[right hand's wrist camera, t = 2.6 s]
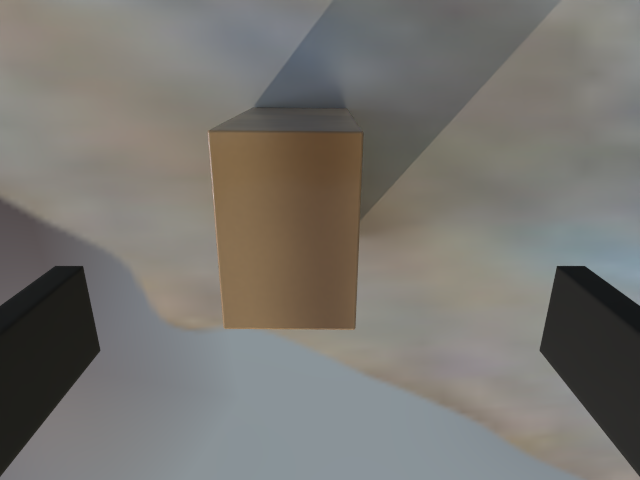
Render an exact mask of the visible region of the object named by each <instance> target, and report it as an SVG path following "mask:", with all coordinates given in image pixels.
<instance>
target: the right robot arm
mask: <svg viewBox="0 0 640 480" xmlns="http://www.w3.org/2000/svg"><path fill="white" fill-rule="evenodd" d="M99 352H100V346H99V342H98V337H97V332H96V327H95V322H94V317H93V312H92V308H91V303H90V298H89V293H88V288H87V283H86V279H85V274H84V269H83V266H55V267H53V268H52V269H51V270H49V271H48V272H47V273H45V274H44V275H42V276H41V277H40V278H38V279H37V280H35V281H34V282H33V283H31V284H30V285H29V286H27V287H26V288H24V289H23V290H22V291H20V292H19V293H17V294H16V295H15V296H13V297H12V298H11V299H9V300H8V301H6V302H5V303H4V304H2V305H1V306H0V476H1V475H2V474H3V472H4V471H5V470H6V469H7V467H8V466H9V465H10V464H11V462H12V461H13V460H14V459H15V457H16V456H17V455H18V454H19V452H20V451H21V450H22V449H23V447H24V446H25V445H26V444H27V442H28V441H29V440H30V438H31V437H32V436H33V435H34V433H35V432H36V431H37V430H38V428H39V427H40V426H41V425H42V423H43V422H44V421H45V420H46V418H47V417H48V416H49V415H50V413H51V412H52V411H53V409H54V408H55V407H56V406H57V404H58V403H59V402H60V401H61V399H62V398H63V397H64V396H65V394H66V393H67V392H68V391H69V389H70V388H71V387H72V386H73V384H74V383H75V382H76V381H77V379H78V378H79V377H80V375H81V374H82V373H83V372H84V370H85V369H86V368H87V367H88V366H89V364H90V363H91V362H92V360H93V359H94V358H95V357H96V355H97V354H98V353H99ZM540 352H541V353H542V354H543V355H544V357H545V358H546V359H547V360H548V362H549V363H550V364H551V366H552V367H553V368H554V369H555V371H556V372H557V373H558V374H559V376H560V377H561V378H562V379H563V381H564V382H565V383H566V384H567V386H568V387H569V388H570V389H571V391H572V392H573V393H574V394H575V396H576V397H577V398H578V399H579V401H580V402H581V403H582V405H583V406H584V407H585V408H586V410H587V411H588V412H589V413H590V415H591V416H592V417H593V418H594V420H595V421H596V422H597V423H598V425H599V426H600V427H601V428H602V430H603V431H604V432H605V433H606V435H607V436H608V437H609V438H610V440H611V441H612V442H613V444H614V445H615V446H616V447H617V449H618V450H619V451H620V452H621V454H622V455H623V456H624V457H625V459H626V460H627V461H628V462H629V464H630V465H631V466H632V467H633V469H634V470H635V471H636V472H637V474H638V475H639V476H640V306H639V305H638V304H636V303H635V302H634V301H632V300H631V299H629V298H628V297H627V296H625V295H624V294H623V293H621V292H620V291H618V290H617V289H616V288H614V287H613V286H611V285H610V284H609V283H607V282H606V281H605V280H603V279H602V278H600V277H599V276H598V275H596V274H595V273H594V272H592V271H591V270H589V269H588V268H587V267H585V266H557V269H556V274H555V279H554V283H553V288H552V293H551V298H550V303H549V308H548V312H547V317H546V322H545V327H544V332H543V337H542V341H541V346H540Z"/></svg>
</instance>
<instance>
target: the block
mask: <svg viewBox="0 0 640 480" xmlns="http://www.w3.org/2000/svg"><path fill="white" fill-rule="evenodd" d="M208 143H209V155H210V167H211V180H212V192H213V204H214V216H215V229H216V241H217V253H218V265H219V278H220V290H221V302H222V314H223V327H224V328H225V329H333V330H354V329H355V325H356V301H357V277H358V253H359V229H360V205H361V181H362V157H363V131H362V130H361V129H360V127H359V126H358V124H357V123H356V121H355V120H354V118H353V117H352V115H351V114H350V112H349V111H348V109H346V108H251V109H249V110H247V111H245V112H243V113H242V114H240V115H238V116H236V117H234V118H232V119H230V120H228V121H226V122H224V123H222V124H220V125H218V126H216V127H214V128H213V129H211V130H209V131H208Z"/></svg>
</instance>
